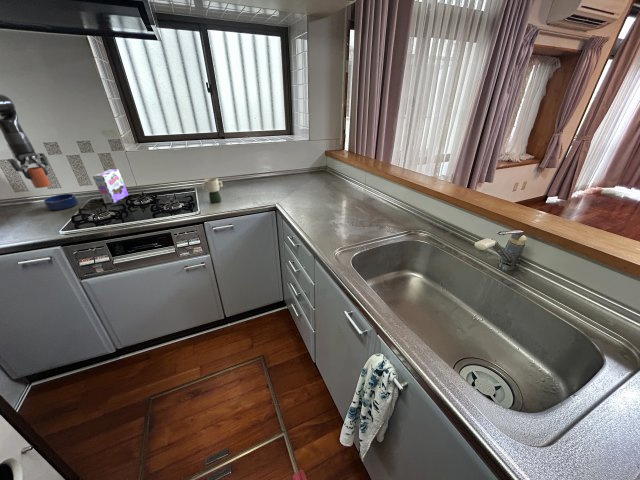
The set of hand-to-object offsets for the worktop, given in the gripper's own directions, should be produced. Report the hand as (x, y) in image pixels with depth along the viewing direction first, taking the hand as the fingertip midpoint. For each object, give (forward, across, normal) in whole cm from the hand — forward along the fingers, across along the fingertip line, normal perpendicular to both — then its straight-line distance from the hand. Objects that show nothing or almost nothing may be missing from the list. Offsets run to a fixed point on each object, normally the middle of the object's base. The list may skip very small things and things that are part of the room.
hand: (37, 176), depth 134 cm
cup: (+5, 0, 0) cm, 5 cm away
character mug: (+19, -32, +76) cm, 85 cm away
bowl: (+19, -7, -5) cm, 21 cm away
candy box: (+19, -22, +16) cm, 34 cm away
